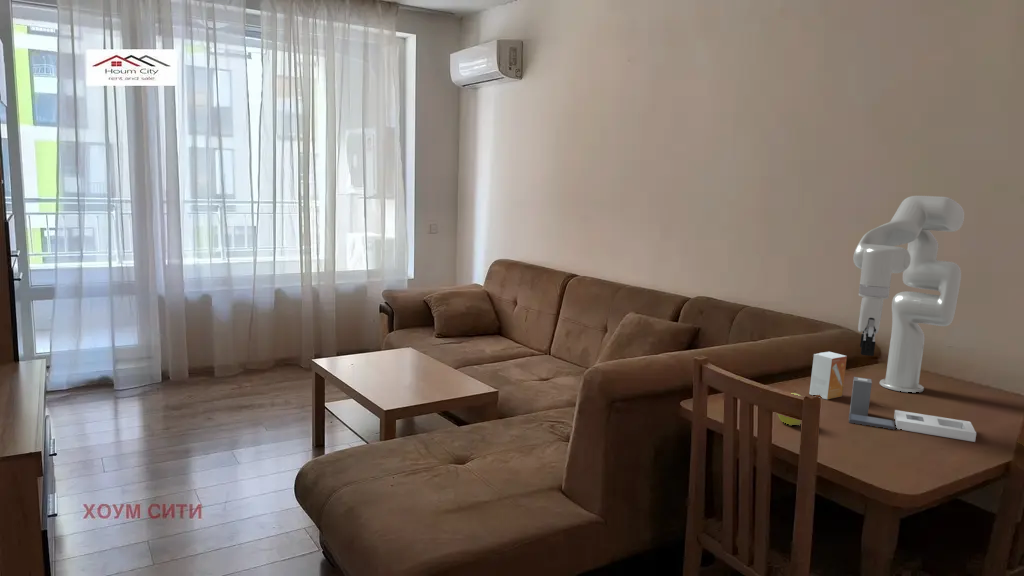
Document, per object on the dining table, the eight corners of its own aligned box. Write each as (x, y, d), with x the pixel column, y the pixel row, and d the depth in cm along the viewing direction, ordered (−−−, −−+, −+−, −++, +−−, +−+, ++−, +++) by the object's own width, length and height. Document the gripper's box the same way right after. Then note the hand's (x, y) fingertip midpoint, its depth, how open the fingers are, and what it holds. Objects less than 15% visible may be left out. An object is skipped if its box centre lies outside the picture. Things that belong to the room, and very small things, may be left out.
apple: (812, 419, 190) (812, 387, 186) (800, 434, 185) (799, 401, 181) (784, 412, 195) (782, 380, 192) (771, 426, 190) (769, 394, 187)
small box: (827, 400, 211) (832, 358, 209) (808, 394, 216) (813, 353, 214) (842, 396, 216) (847, 355, 214) (823, 391, 221) (828, 350, 219)
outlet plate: (893, 418, 197) (895, 409, 196) (969, 430, 189) (970, 421, 189) (896, 428, 188) (897, 419, 187) (975, 442, 180) (976, 432, 180)
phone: (848, 416, 197) (849, 413, 197) (893, 423, 192) (893, 420, 192) (848, 422, 191) (849, 419, 191) (894, 430, 187) (894, 426, 187)
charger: (849, 410, 203) (853, 376, 201) (867, 412, 201) (871, 378, 199) (849, 414, 199) (854, 380, 197) (867, 417, 197) (871, 382, 195)
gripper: (858, 286, 203) (851, 343, 206) (859, 294, 188) (852, 356, 191) (887, 289, 200) (880, 347, 203) (891, 297, 185) (883, 360, 187)
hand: (866, 351), depth 197 cm, fingers open, 9 cm apart
